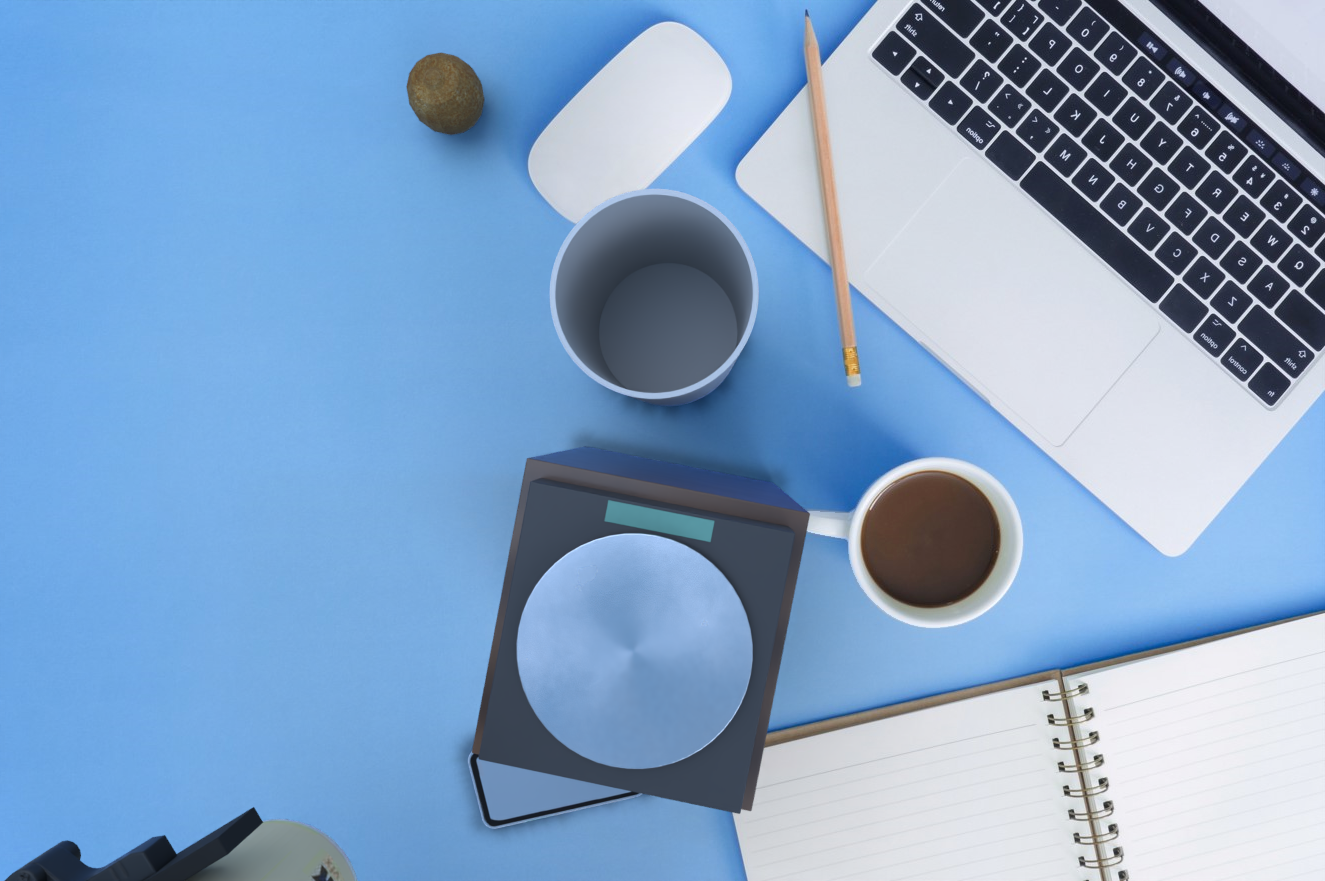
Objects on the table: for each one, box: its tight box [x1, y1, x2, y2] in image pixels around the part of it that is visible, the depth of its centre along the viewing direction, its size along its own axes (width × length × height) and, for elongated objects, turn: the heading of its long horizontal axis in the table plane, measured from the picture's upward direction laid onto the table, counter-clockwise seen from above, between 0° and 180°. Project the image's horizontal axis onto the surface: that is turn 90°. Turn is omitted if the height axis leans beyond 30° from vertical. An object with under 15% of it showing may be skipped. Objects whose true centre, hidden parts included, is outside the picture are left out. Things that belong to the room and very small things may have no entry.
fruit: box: [405, 52, 486, 136], centre depth 74 cm, size 6×6×8 cm
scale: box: [479, 478, 795, 815], centre depth 50 cm, size 16×15×3 cm
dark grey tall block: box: [471, 445, 811, 812], centre depth 65 cm, size 18×17×26 cm
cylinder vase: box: [549, 188, 760, 407], centre depth 65 cm, size 12×12×25 cm
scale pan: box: [516, 532, 753, 769], centre depth 48 cm, size 13×13×1 cm
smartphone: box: [467, 751, 643, 830], centre depth 78 cm, size 7×1×15 cm
